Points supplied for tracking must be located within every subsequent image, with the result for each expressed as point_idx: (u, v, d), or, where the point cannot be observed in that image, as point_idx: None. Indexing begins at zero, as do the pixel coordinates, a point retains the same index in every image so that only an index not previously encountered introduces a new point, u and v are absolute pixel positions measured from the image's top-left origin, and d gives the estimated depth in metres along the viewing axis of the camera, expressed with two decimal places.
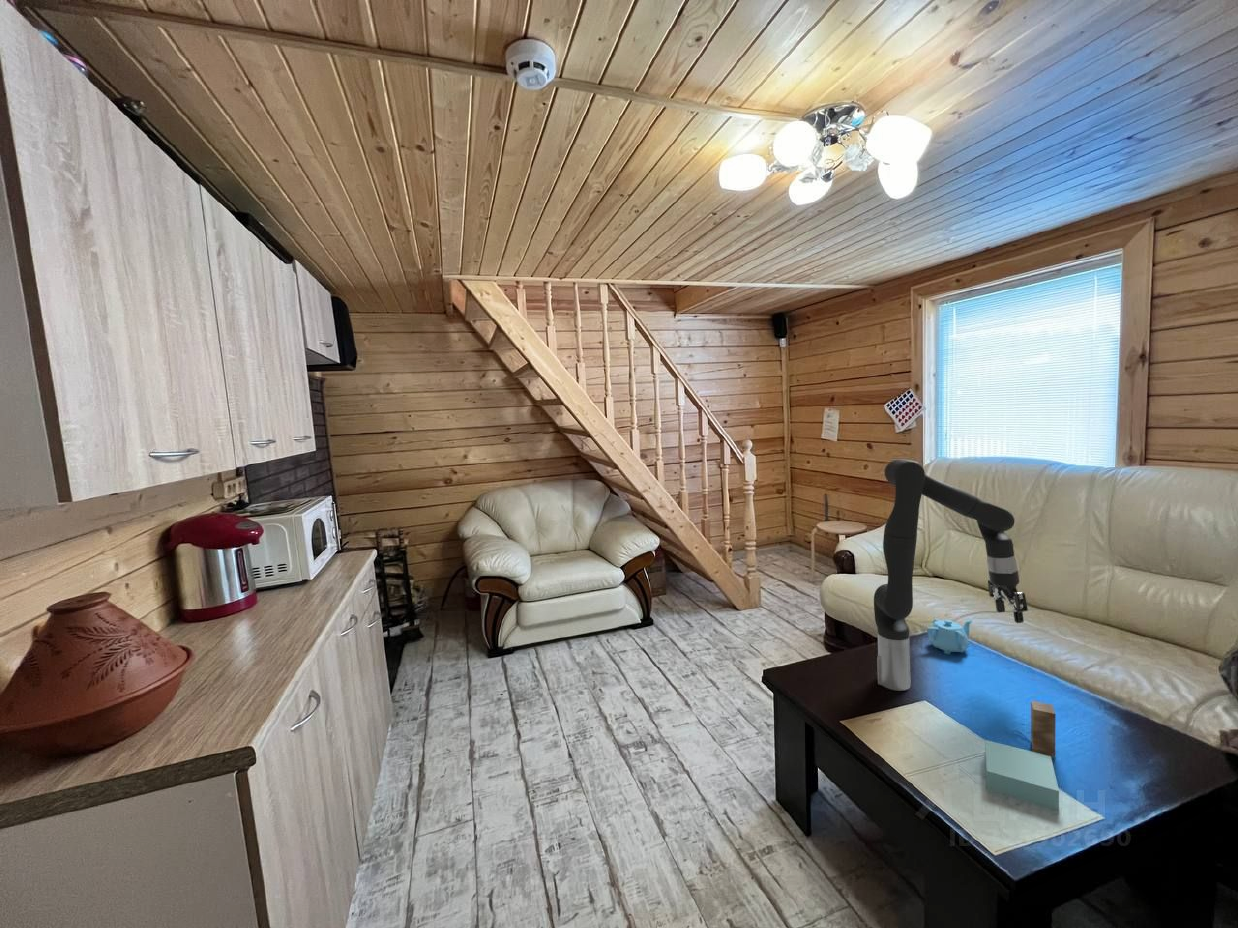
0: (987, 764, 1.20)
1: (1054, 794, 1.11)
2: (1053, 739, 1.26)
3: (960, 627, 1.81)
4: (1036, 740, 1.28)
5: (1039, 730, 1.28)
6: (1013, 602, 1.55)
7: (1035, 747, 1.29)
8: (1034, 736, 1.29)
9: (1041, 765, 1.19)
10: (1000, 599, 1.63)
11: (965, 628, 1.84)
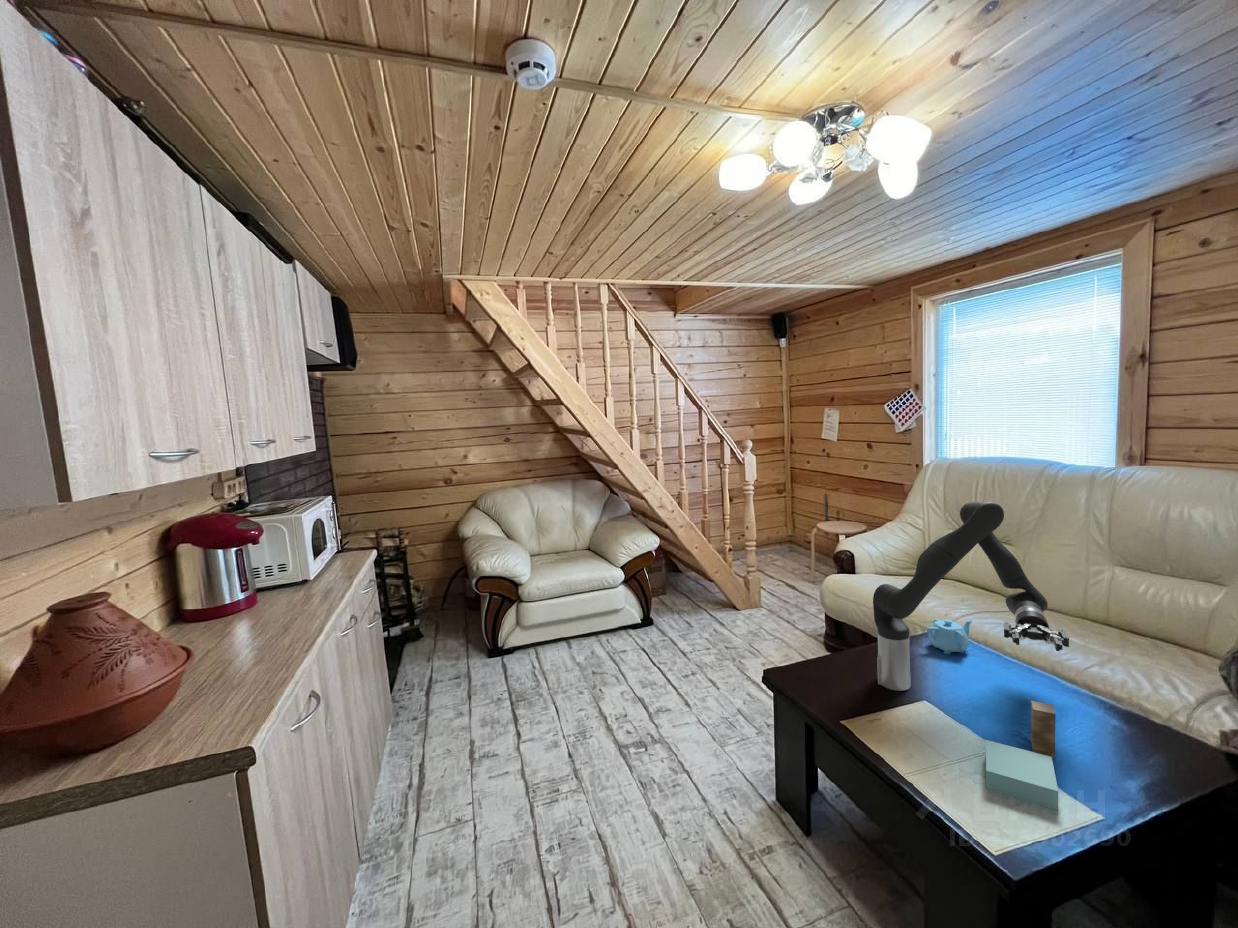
0: (987, 764, 1.20)
1: (1053, 794, 1.11)
2: (1053, 739, 1.26)
3: (960, 627, 1.81)
4: (1036, 740, 1.28)
5: (1039, 730, 1.28)
6: None
7: (1035, 747, 1.29)
8: (1034, 736, 1.29)
9: (1041, 765, 1.19)
10: None
11: (965, 628, 1.84)
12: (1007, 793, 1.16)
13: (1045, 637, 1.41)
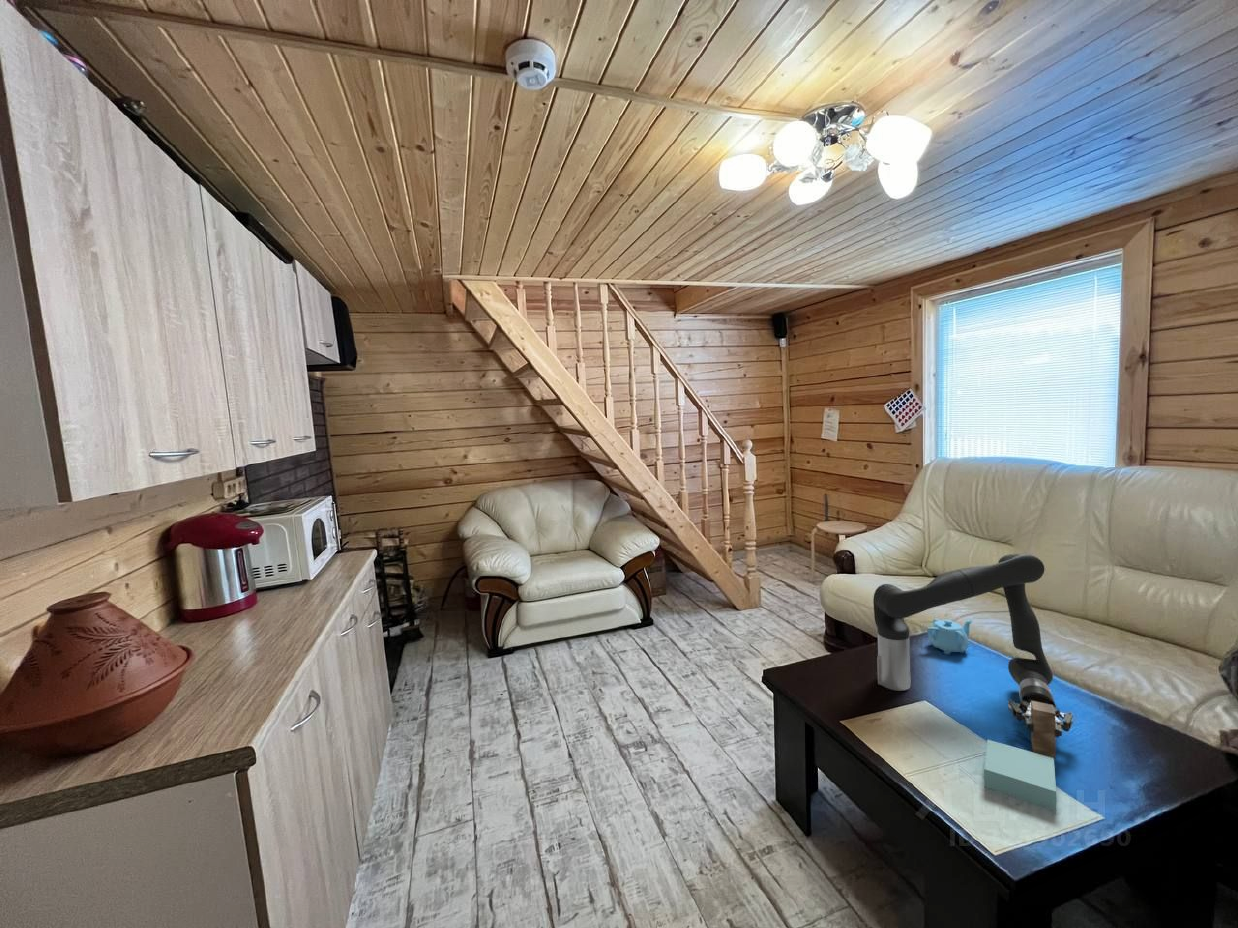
0: (986, 762, 1.21)
1: (1051, 794, 1.11)
2: (1053, 739, 1.26)
3: (960, 627, 1.81)
4: (1036, 740, 1.28)
5: (1039, 730, 1.28)
6: None
7: (1035, 747, 1.29)
8: (1034, 736, 1.29)
9: (1041, 766, 1.18)
10: None
11: (965, 628, 1.84)
12: (1005, 792, 1.17)
13: None
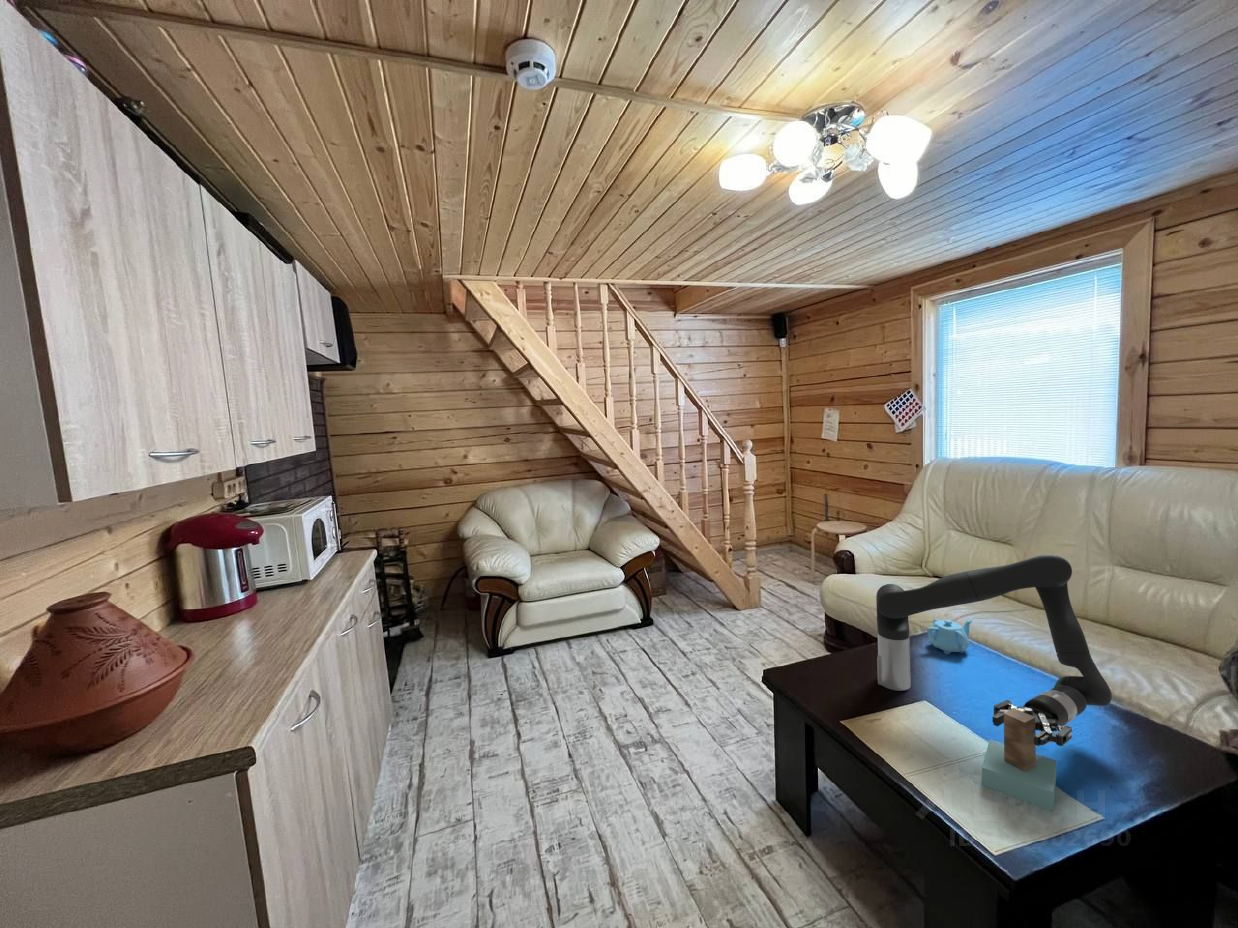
0: (984, 761, 1.21)
1: (1048, 795, 1.11)
2: (1023, 750, 1.17)
3: (960, 627, 1.81)
4: (1007, 747, 1.20)
5: (1010, 737, 1.19)
6: None
7: (1006, 755, 1.20)
8: (1005, 743, 1.20)
9: (1042, 767, 1.18)
10: None
11: (965, 628, 1.84)
12: (1002, 791, 1.17)
13: (1041, 728, 1.19)
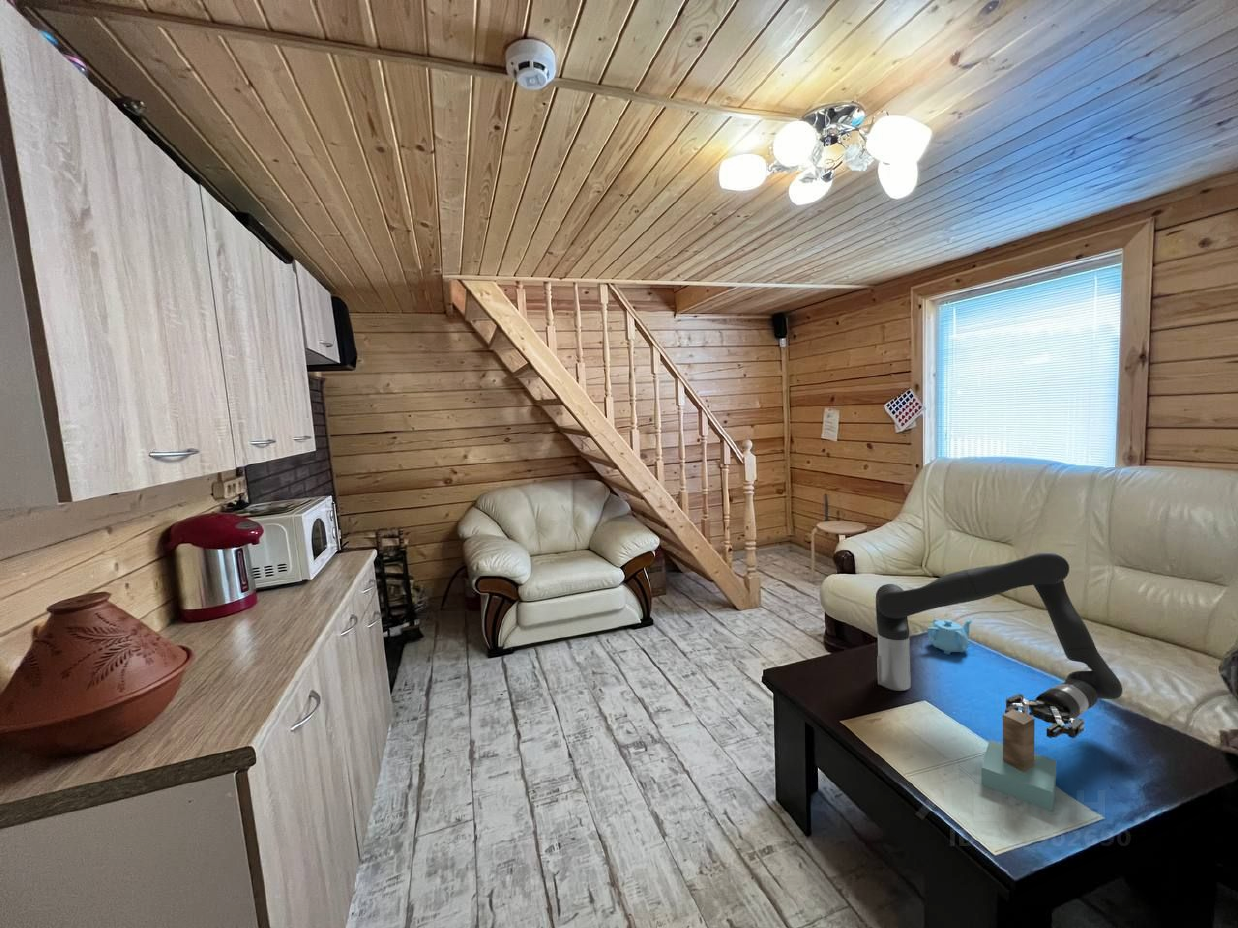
0: (984, 761, 1.21)
1: (1048, 795, 1.11)
2: (1021, 751, 1.17)
3: (960, 627, 1.81)
4: (1006, 748, 1.20)
5: (1009, 738, 1.19)
6: None
7: (1005, 756, 1.20)
8: (1004, 744, 1.20)
9: (1042, 767, 1.18)
10: None
11: (965, 628, 1.84)
12: (1002, 791, 1.17)
13: (1053, 721, 1.21)
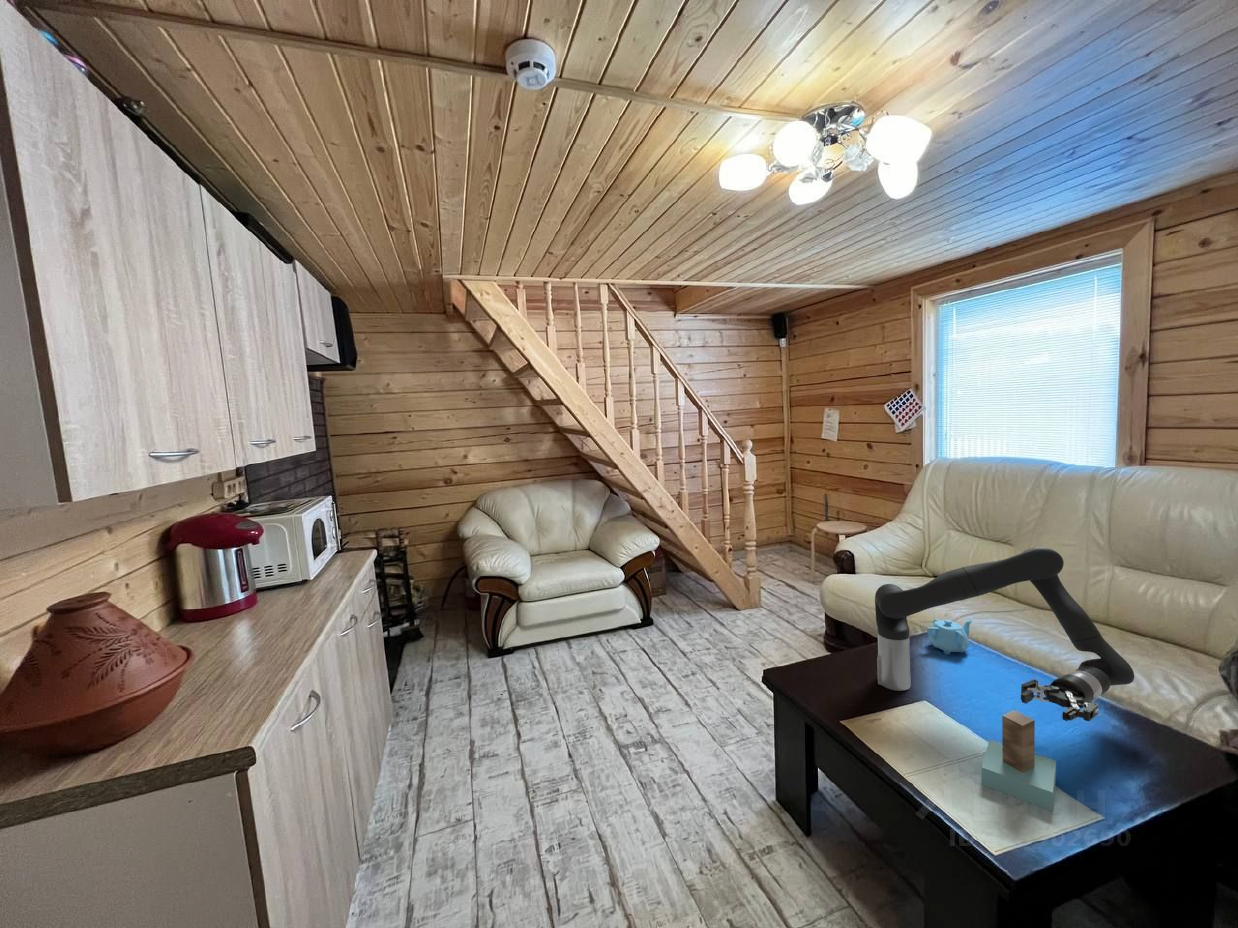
0: (984, 761, 1.21)
1: (1047, 795, 1.11)
2: (1020, 752, 1.17)
3: (960, 627, 1.81)
4: (1005, 749, 1.20)
5: (1008, 739, 1.19)
6: None
7: (1004, 756, 1.20)
8: (1003, 744, 1.20)
9: (1042, 767, 1.18)
10: (1032, 695, 1.29)
11: (965, 628, 1.84)
12: (1002, 791, 1.17)
13: (1068, 705, 1.24)
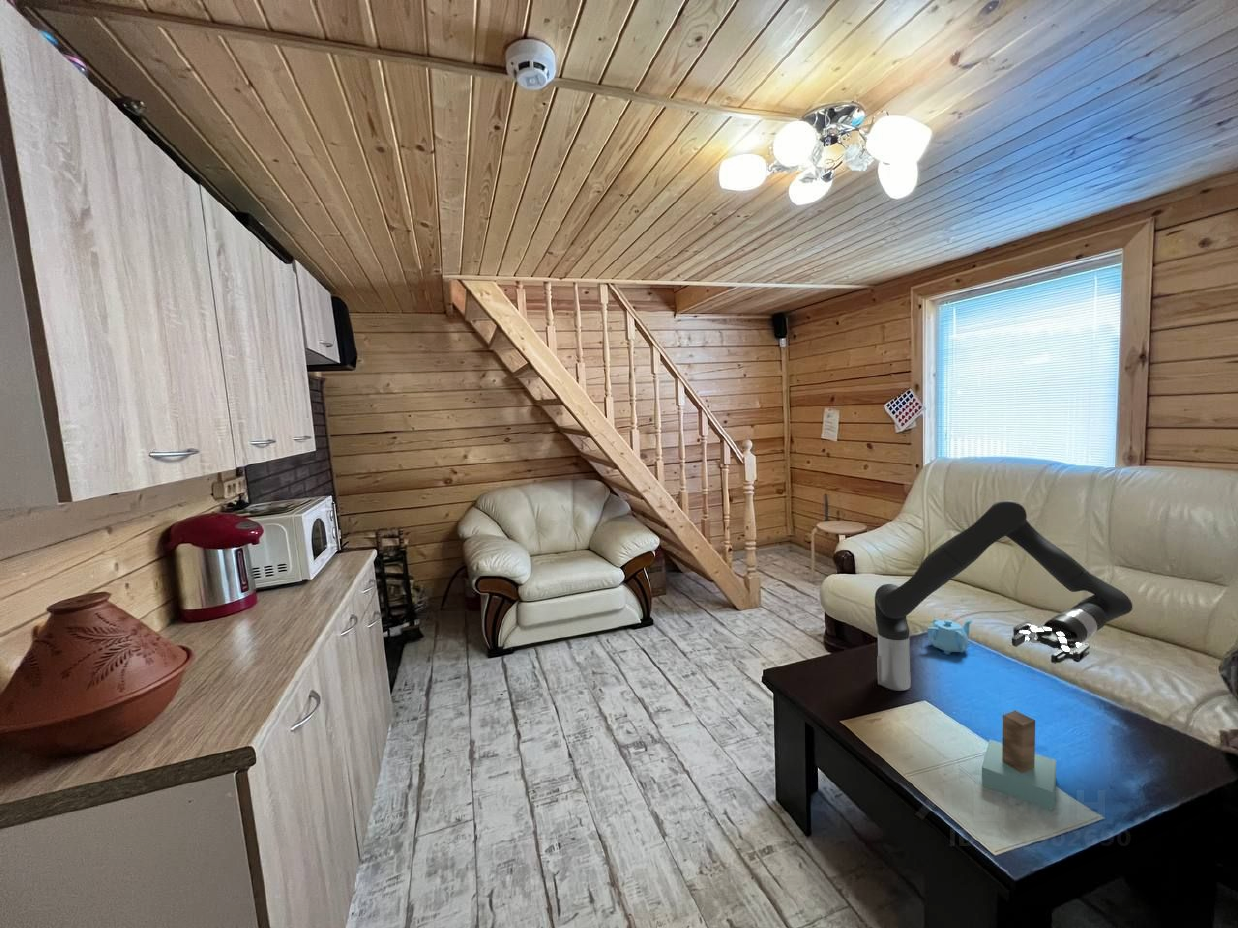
0: (984, 761, 1.21)
1: (1048, 795, 1.11)
2: (1020, 752, 1.17)
3: (960, 627, 1.81)
4: (1005, 749, 1.20)
5: (1008, 739, 1.19)
6: None
7: (1004, 756, 1.20)
8: (1003, 744, 1.20)
9: (1042, 767, 1.18)
10: (1024, 638, 1.29)
11: (965, 628, 1.84)
12: (1002, 791, 1.17)
13: (1059, 646, 1.24)
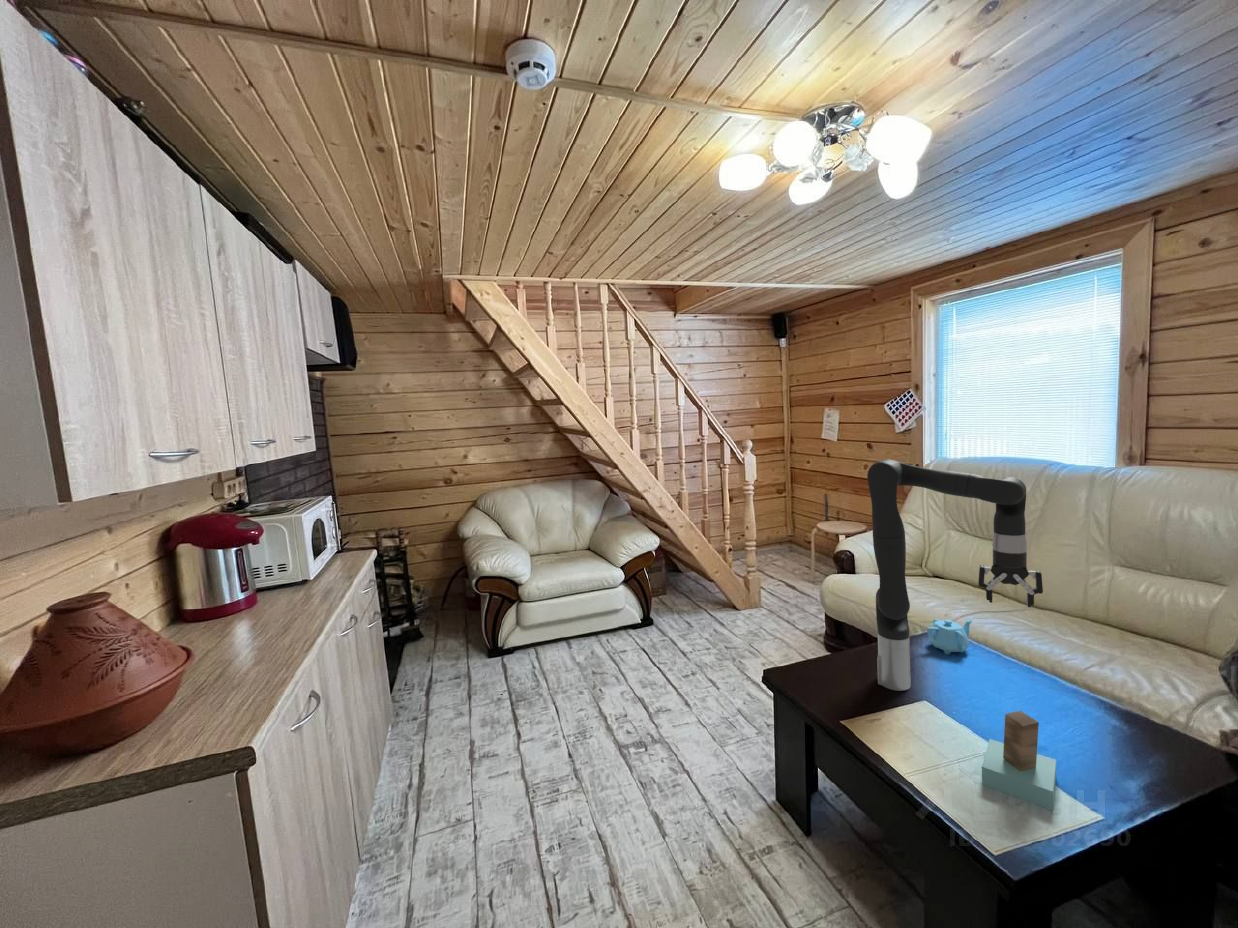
0: (984, 760, 1.22)
1: (1048, 794, 1.11)
2: (1019, 751, 1.17)
3: (960, 627, 1.81)
4: (1006, 746, 1.20)
5: (1009, 737, 1.19)
6: (1027, 584, 1.37)
7: (1005, 753, 1.21)
8: (1004, 742, 1.21)
9: (1042, 766, 1.18)
10: None
11: (965, 628, 1.84)
12: (1002, 790, 1.17)
13: None
